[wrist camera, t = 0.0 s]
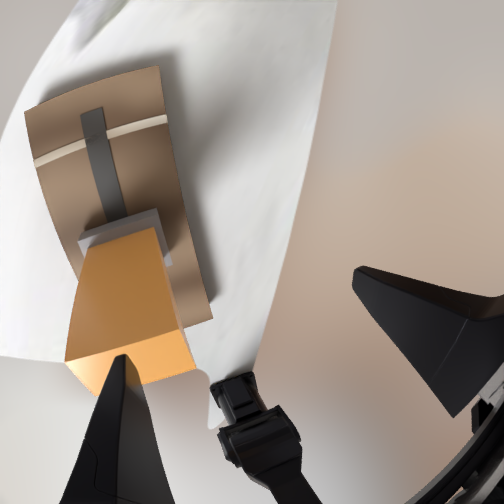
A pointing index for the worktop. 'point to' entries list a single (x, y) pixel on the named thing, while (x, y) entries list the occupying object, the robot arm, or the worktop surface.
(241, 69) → the worktop surface
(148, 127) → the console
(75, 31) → the worktop surface
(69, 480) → the robot arm
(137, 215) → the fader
